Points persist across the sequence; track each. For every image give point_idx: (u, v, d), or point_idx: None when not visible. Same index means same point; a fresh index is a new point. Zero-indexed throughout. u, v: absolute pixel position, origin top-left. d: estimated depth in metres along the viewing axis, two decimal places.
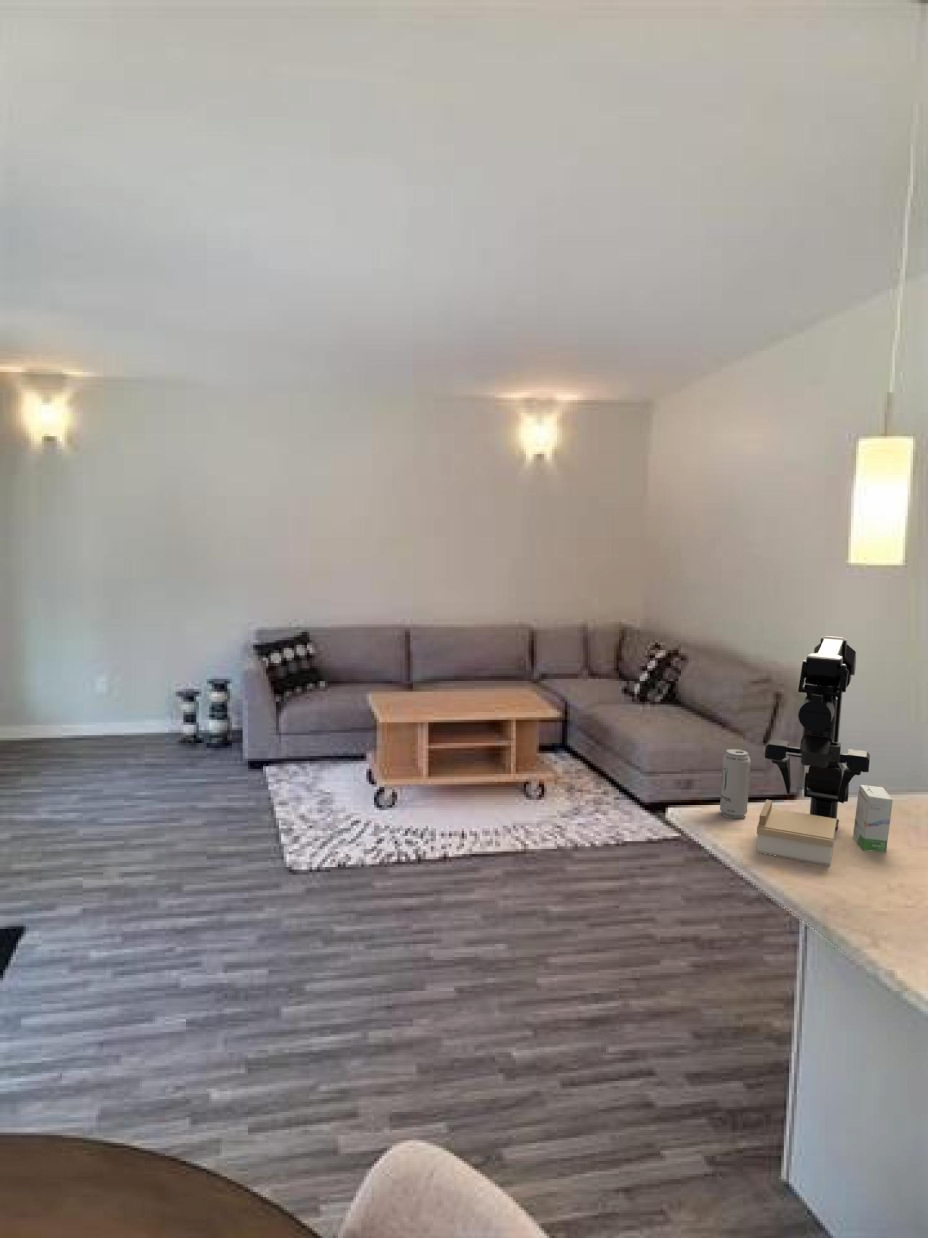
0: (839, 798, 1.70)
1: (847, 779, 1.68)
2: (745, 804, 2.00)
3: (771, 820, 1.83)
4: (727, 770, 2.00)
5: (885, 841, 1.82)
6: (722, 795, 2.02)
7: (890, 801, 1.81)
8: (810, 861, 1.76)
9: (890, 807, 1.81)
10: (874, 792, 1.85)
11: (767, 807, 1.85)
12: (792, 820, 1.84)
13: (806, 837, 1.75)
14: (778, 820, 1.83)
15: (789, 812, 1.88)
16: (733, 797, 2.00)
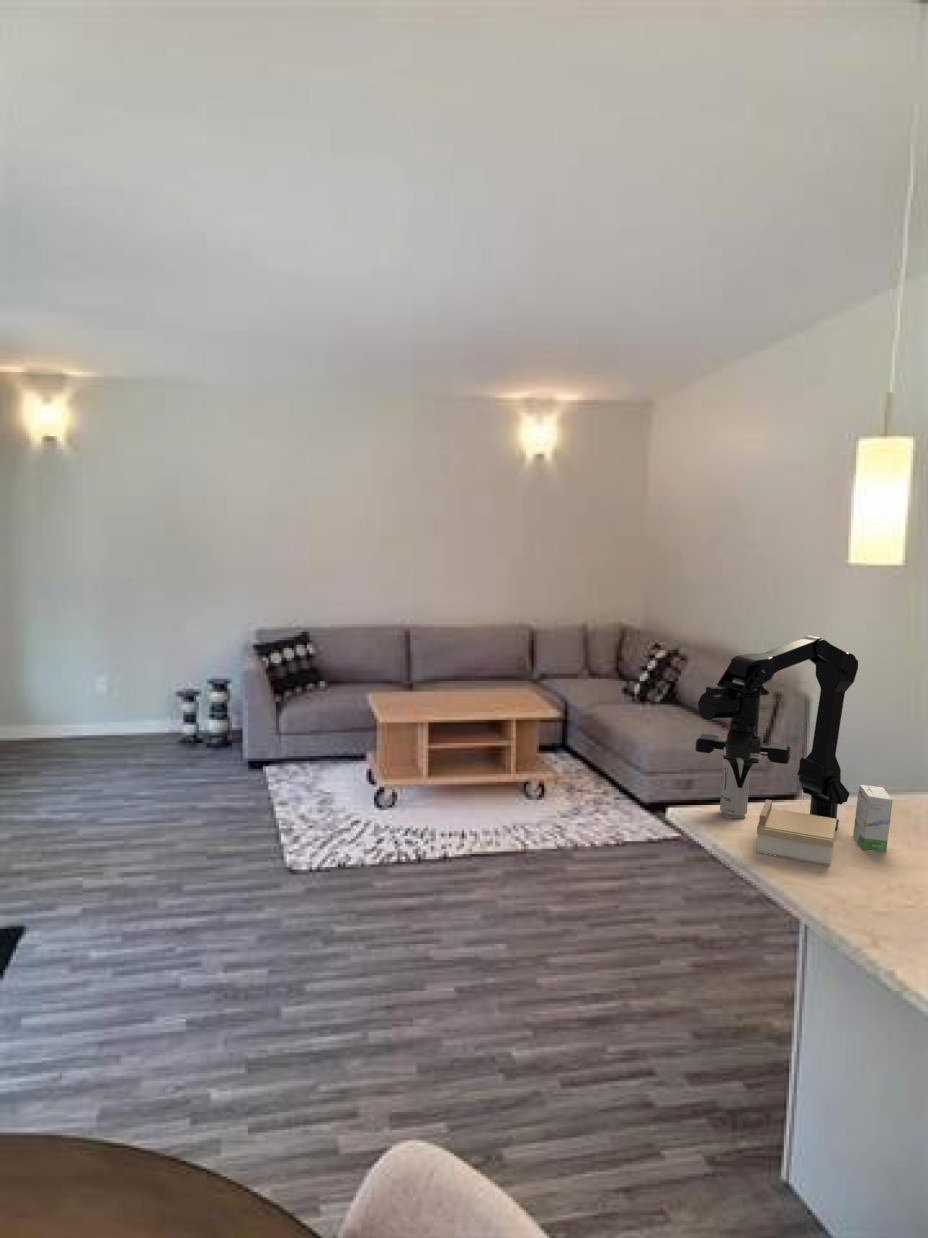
0: (741, 784, 1.86)
1: (747, 767, 1.84)
2: (745, 804, 2.00)
3: (771, 820, 1.83)
4: (727, 770, 2.00)
5: (885, 841, 1.82)
6: (722, 795, 2.02)
7: (890, 801, 1.81)
8: (810, 861, 1.76)
9: (890, 807, 1.81)
10: (874, 792, 1.85)
11: (767, 807, 1.85)
12: (792, 820, 1.84)
13: (806, 837, 1.75)
14: (778, 820, 1.83)
15: (789, 812, 1.88)
16: (733, 797, 2.00)
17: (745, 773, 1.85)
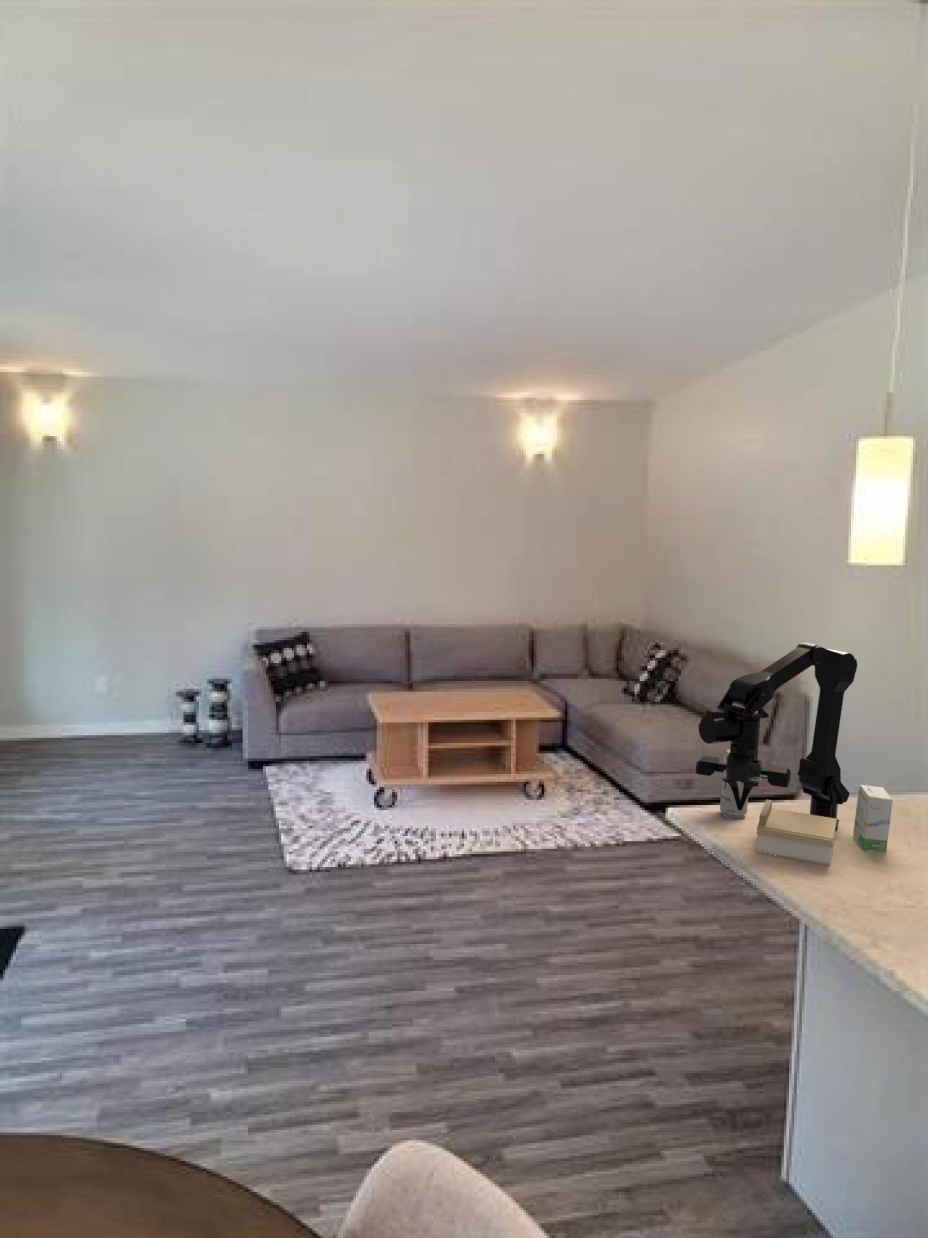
0: (741, 807, 1.87)
1: (747, 790, 1.85)
2: (745, 804, 2.00)
3: (771, 820, 1.83)
4: None
5: (885, 841, 1.82)
6: (722, 795, 2.02)
7: (890, 801, 1.81)
8: (810, 861, 1.76)
9: (890, 807, 1.81)
10: (874, 792, 1.85)
11: (767, 807, 1.85)
12: (792, 820, 1.84)
13: (806, 837, 1.75)
14: (778, 820, 1.83)
15: (789, 812, 1.88)
16: (733, 797, 2.00)
17: (745, 796, 1.85)
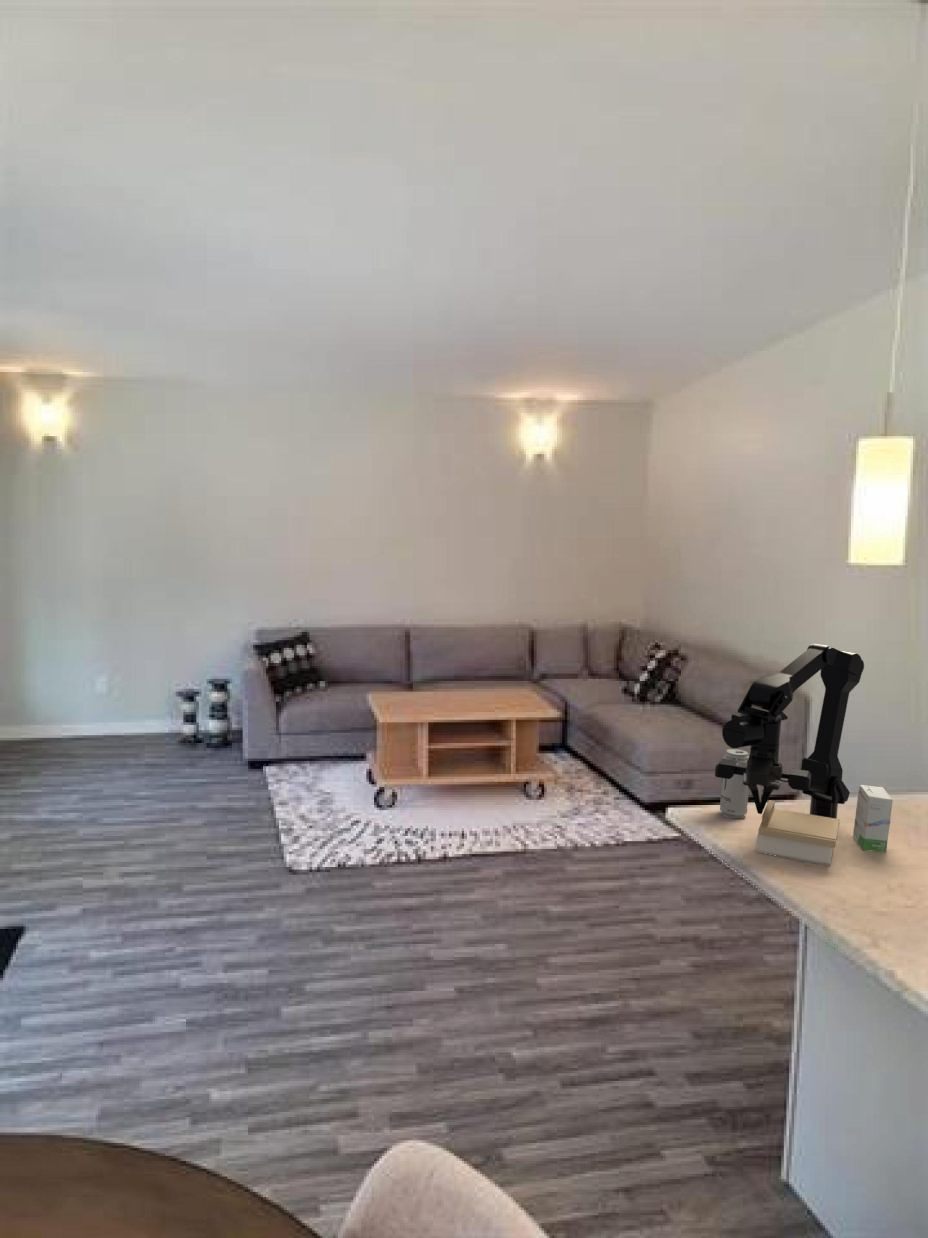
0: (761, 810, 1.85)
1: (767, 793, 1.83)
2: (745, 804, 2.00)
3: (774, 820, 1.83)
4: None
5: (885, 841, 1.82)
6: (722, 795, 2.02)
7: (890, 801, 1.81)
8: (810, 861, 1.76)
9: (890, 807, 1.81)
10: (874, 792, 1.85)
11: (770, 807, 1.85)
12: (795, 820, 1.83)
13: (809, 837, 1.75)
14: (781, 820, 1.83)
15: (792, 812, 1.88)
16: (733, 797, 2.00)
17: (765, 799, 1.84)
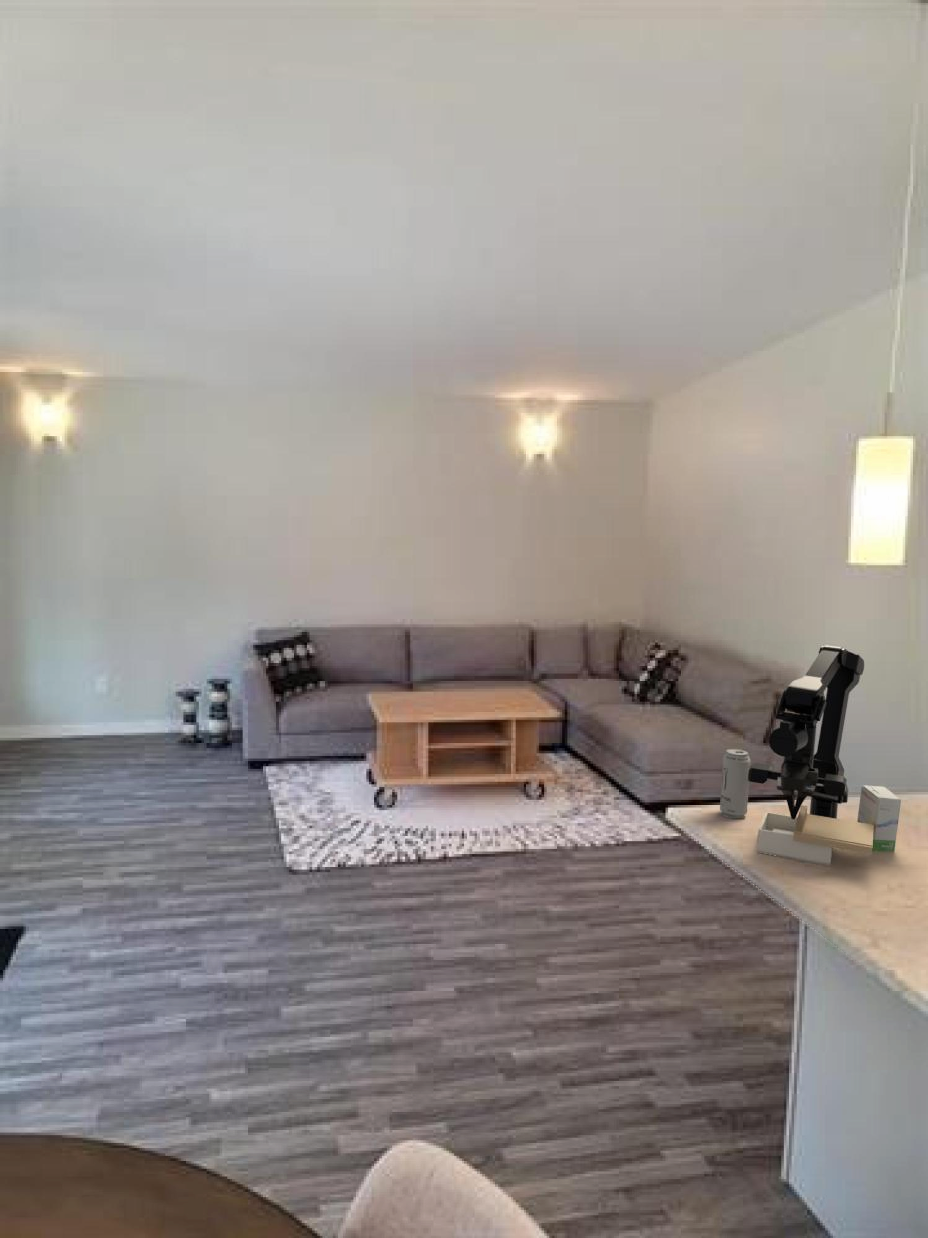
0: (794, 816, 1.82)
1: (801, 798, 1.80)
2: (745, 804, 2.00)
3: (807, 826, 1.80)
4: (727, 770, 2.00)
5: (893, 841, 1.82)
6: (722, 795, 2.02)
7: (899, 801, 1.81)
8: (810, 861, 1.76)
9: (899, 807, 1.81)
10: (880, 792, 1.85)
11: (803, 813, 1.82)
12: (829, 826, 1.81)
13: (845, 844, 1.72)
14: (814, 826, 1.80)
15: (825, 818, 1.85)
16: (733, 797, 2.00)
17: (799, 804, 1.81)
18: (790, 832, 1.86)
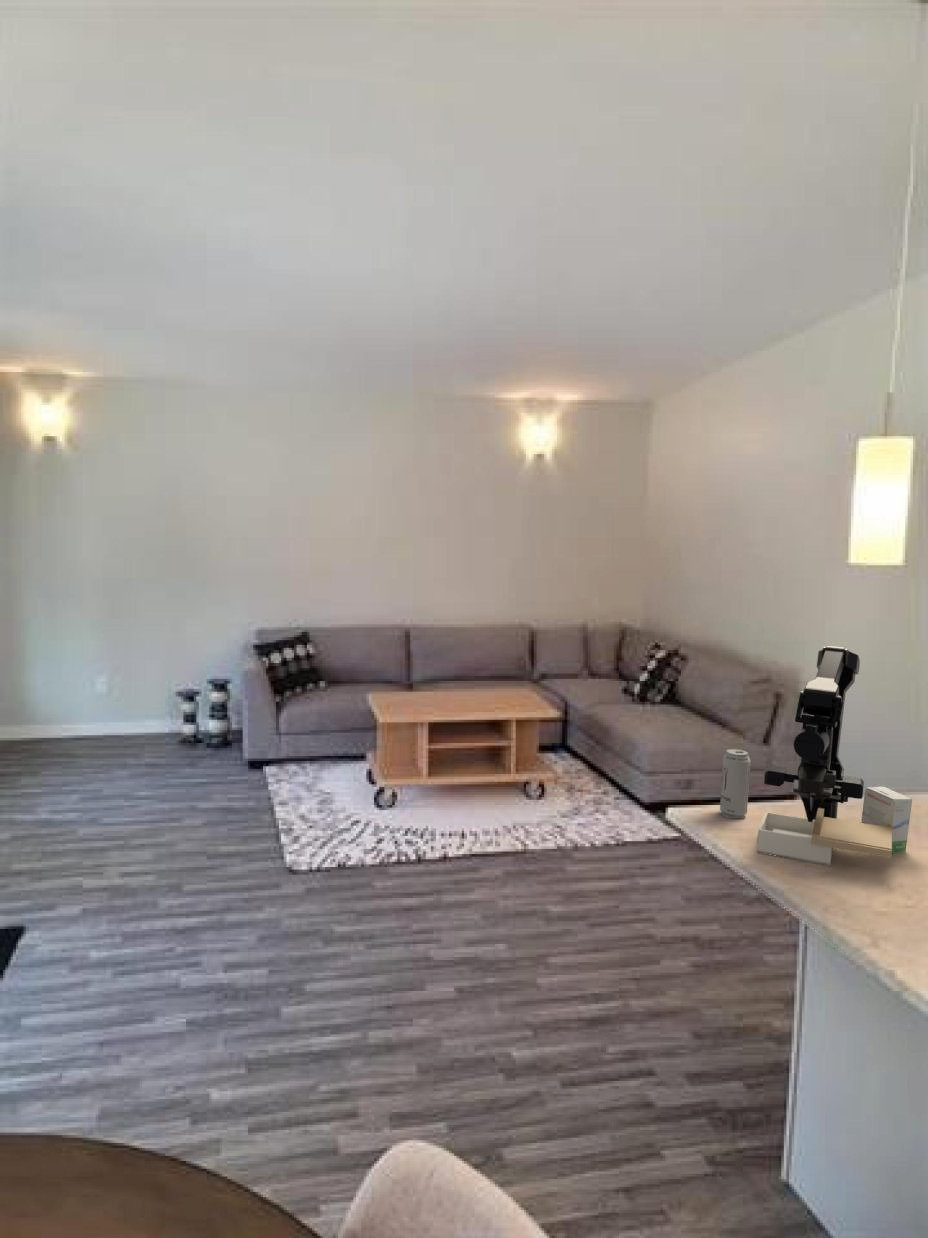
0: (811, 819, 1.81)
1: (818, 801, 1.79)
2: (745, 804, 2.00)
3: (825, 829, 1.79)
4: (727, 770, 2.00)
5: (905, 841, 1.83)
6: (722, 795, 2.02)
7: (910, 801, 1.82)
8: (810, 861, 1.76)
9: (910, 807, 1.82)
10: (888, 793, 1.84)
11: (820, 816, 1.81)
12: (847, 829, 1.79)
13: (863, 847, 1.71)
14: (832, 829, 1.79)
15: (842, 821, 1.84)
16: (733, 797, 2.00)
17: (816, 807, 1.79)
18: (790, 832, 1.86)
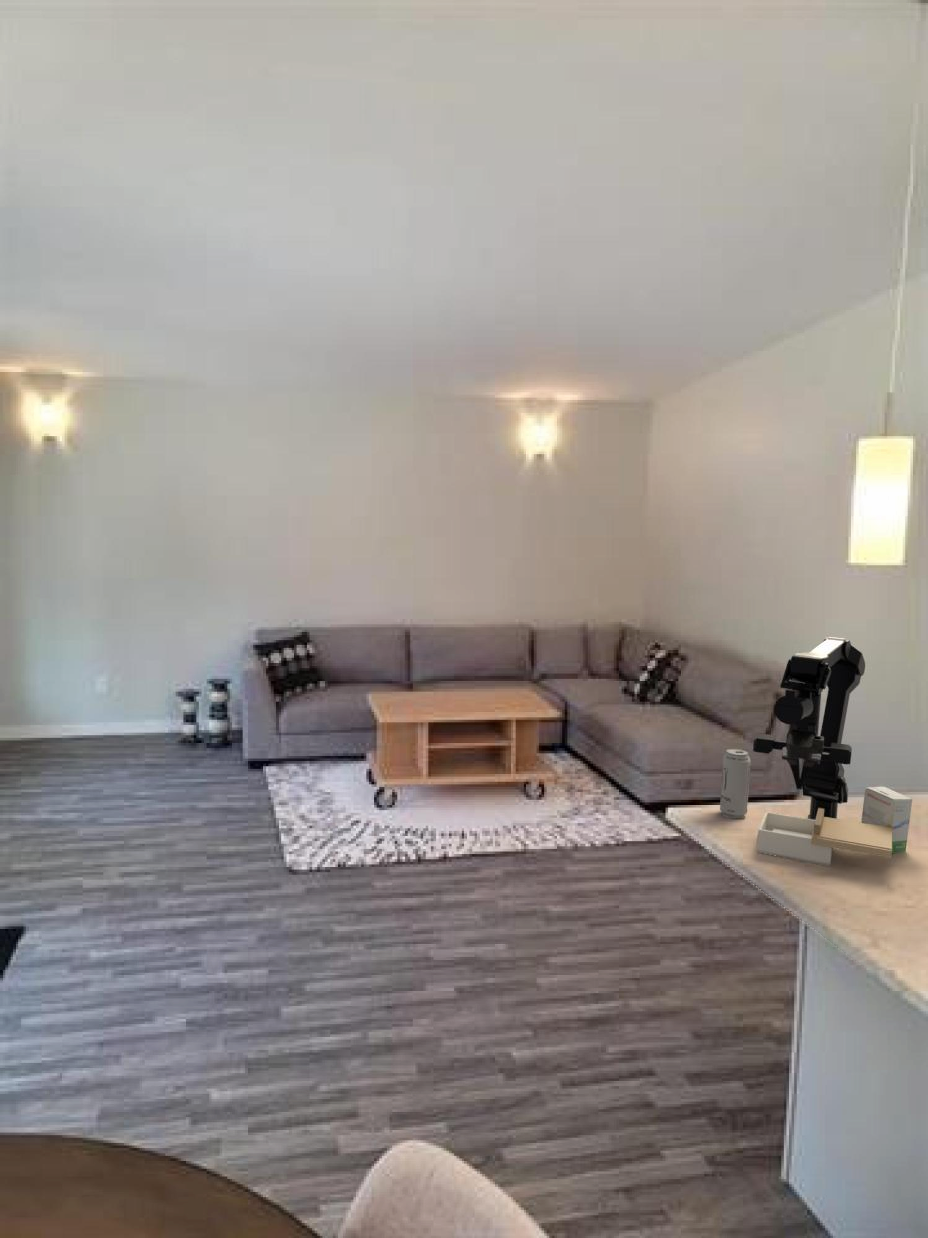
0: (800, 786, 1.82)
1: (807, 768, 1.80)
2: (745, 804, 2.00)
3: (825, 829, 1.79)
4: (727, 770, 2.00)
5: (905, 841, 1.83)
6: (722, 795, 2.02)
7: (910, 801, 1.82)
8: (810, 861, 1.76)
9: (910, 807, 1.82)
10: (889, 793, 1.84)
11: (820, 816, 1.81)
12: (847, 829, 1.79)
13: (863, 847, 1.71)
14: (832, 829, 1.79)
15: (842, 821, 1.84)
16: (733, 797, 2.00)
17: (805, 774, 1.80)
18: (790, 832, 1.86)
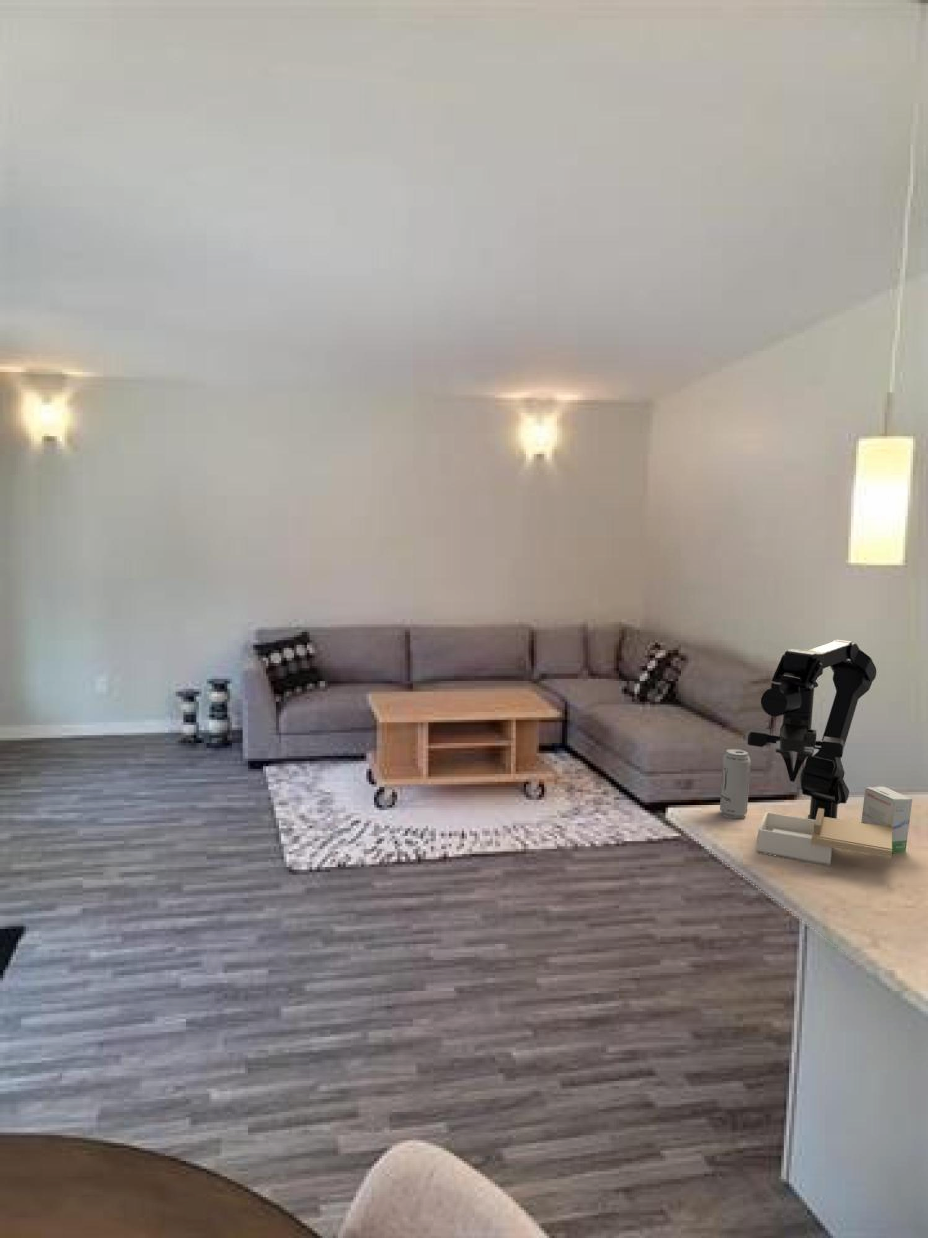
0: (793, 778, 1.86)
1: (800, 761, 1.84)
2: (745, 804, 2.00)
3: (825, 829, 1.79)
4: (727, 770, 2.00)
5: (905, 841, 1.83)
6: (722, 795, 2.02)
7: (910, 801, 1.82)
8: (810, 861, 1.76)
9: (910, 807, 1.82)
10: (889, 793, 1.84)
11: (820, 816, 1.81)
12: (847, 829, 1.79)
13: (863, 847, 1.71)
14: (832, 829, 1.79)
15: (842, 821, 1.84)
16: (733, 797, 2.00)
17: (798, 767, 1.85)
18: (790, 832, 1.86)
